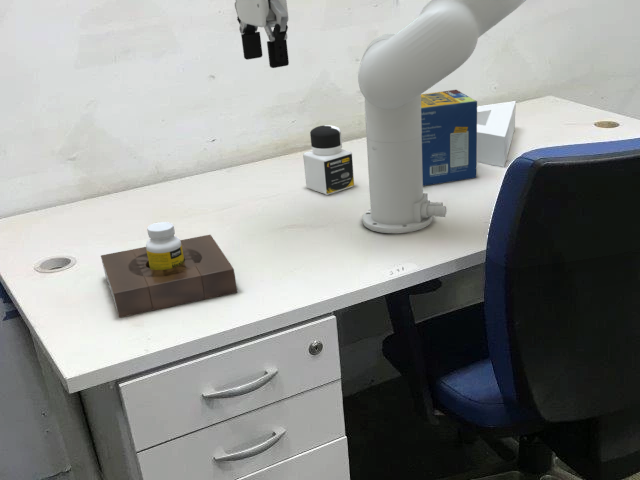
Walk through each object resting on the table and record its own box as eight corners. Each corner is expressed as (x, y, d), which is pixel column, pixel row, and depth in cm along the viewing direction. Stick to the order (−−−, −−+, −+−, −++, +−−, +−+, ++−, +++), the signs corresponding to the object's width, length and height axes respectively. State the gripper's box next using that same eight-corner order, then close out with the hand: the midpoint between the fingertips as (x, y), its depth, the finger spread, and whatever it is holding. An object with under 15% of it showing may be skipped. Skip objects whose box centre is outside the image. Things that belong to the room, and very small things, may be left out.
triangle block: (396, 145, 194) (395, 117, 190) (464, 119, 210) (464, 93, 206) (504, 167, 176) (505, 136, 173) (569, 137, 192) (571, 109, 189)
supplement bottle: (180, 292, 131) (168, 233, 126) (148, 291, 132) (135, 232, 127) (193, 278, 136) (183, 220, 130) (162, 276, 137) (150, 219, 131)
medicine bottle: (327, 195, 166) (321, 134, 160) (305, 187, 171) (299, 128, 165) (354, 186, 170) (350, 126, 164) (333, 179, 175) (328, 120, 169)
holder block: (214, 256, 143) (210, 234, 141) (237, 292, 130) (233, 268, 128) (106, 278, 137) (100, 255, 135) (119, 317, 125) (113, 293, 122)
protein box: (389, 174, 176) (386, 98, 168) (458, 164, 179) (457, 88, 171) (406, 189, 167) (403, 109, 159) (477, 178, 171) (478, 99, 163)
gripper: (300, -54, 125) (311, 66, 134) (250, -58, 138) (263, 52, 147) (254, -50, 122) (268, 73, 131) (208, -54, 135) (224, 58, 144)
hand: (266, 62), depth 139 cm, fingers open, 9 cm apart
